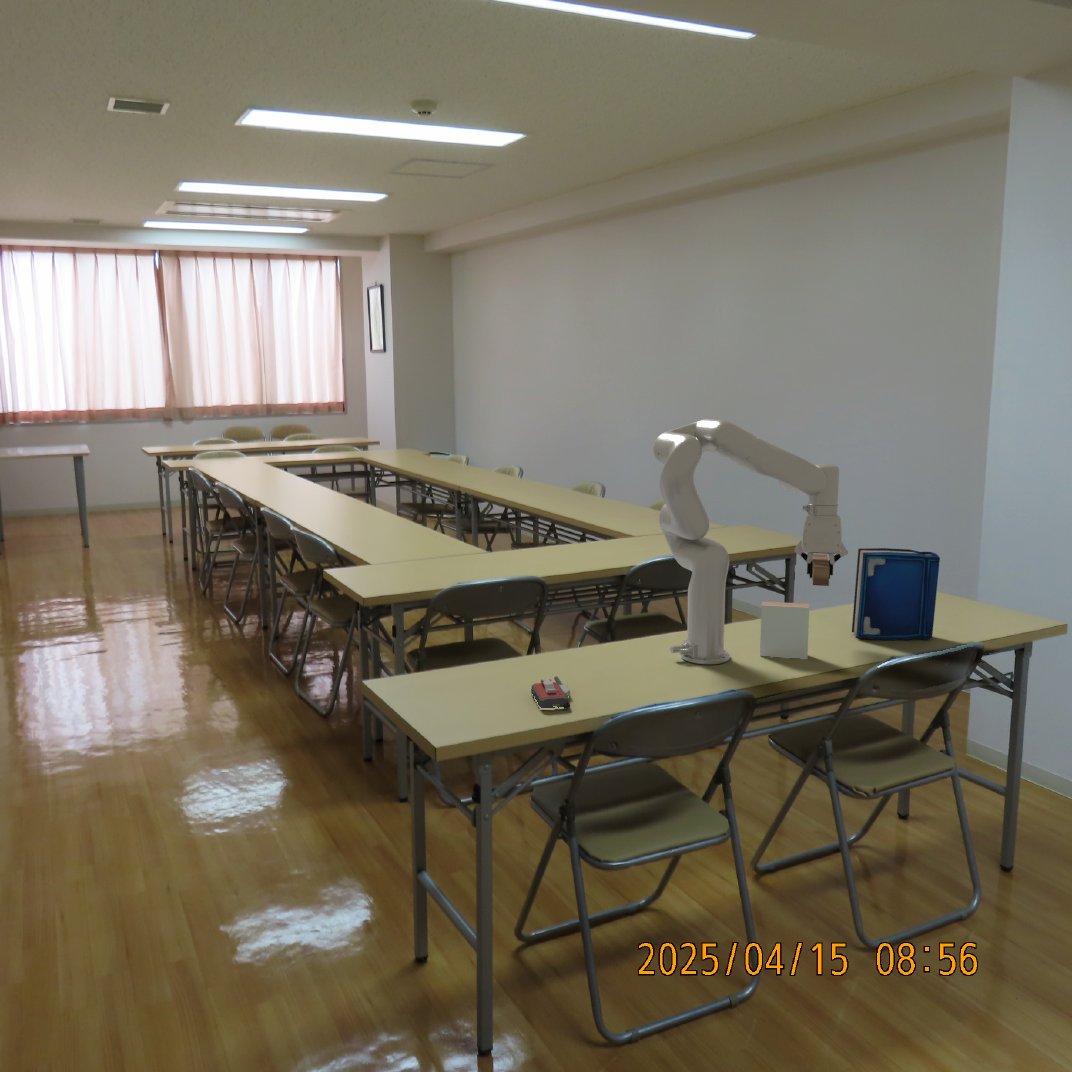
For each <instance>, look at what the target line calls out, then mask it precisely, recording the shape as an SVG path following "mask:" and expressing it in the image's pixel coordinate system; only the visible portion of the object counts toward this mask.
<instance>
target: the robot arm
mask: <svg viewBox="0 0 1072 1072" xmlns="http://www.w3.org/2000/svg"><path fill="white" fill-rule="evenodd" d="M652 450H653V456H654V458H655V459H657V461H658V462H660V463H661V464H664V465H663V467H662V470H661V473H660V477H659V478H660V479H659V488H660V493H661V496H662V499H663V501H664V504H662V507H661V508H660V510H659V511H660V512H659V514H658V515H659V516H658V517H659V519H658V520H659V526H660V529H661V531H662V534H663V536H664V538H665V540H666V542H667V544H668V547H669V549H670V551H671V553H672V556H673V557H674V560H676V562H677V563H678V565H680V566H681V567H682V568H684V569H685V570H688V571H690V572H692V573H691V576H690V581H689V582H688V583H689V584H688V589H687V631H686V632H687V636H686V639H685V640H684V639H683V643H681V644H680V645H671V646H670V647H669V651H670V653H671V654H679V655H680V657H681V658H682V660H684V661H686V662H688V663H692V664H697V665H719V664H724V663H726V662H728V661H729V660H730V658H731V657H730V656H731V654H730V652H728V651H727V650H725V649H724V648H725V617H726V616H725V613H726V608H725V607H726V605H725V604H726V603H725V602H726V583H727V575H728V572H729V568H730V556H729V553H728V551H727V549H726V547H725V546H723V545H722V544H721V543H720V542H718V541H716V540H713V539H710V538H707V537H705V536H706V535H707V534H708V532H709V529H710V520H709V517H708V514H707V511H706V508H705V506H704V505H703V503H702V500H701V498H700V496H699V494H698V491H697V488H696V485H695V482H694V476H695V471H696V469H697V466H698V465H699V463H700V462H701V459H702V455H703V453H704V452H712V453H715V454H717V455H718V456H721V457H723V458H725V459H726V460H729V461H730V462H733V463H734V464H736V465H738V466H739V467H742V468H744V470H747V471H749V472H752V473H755V474H756V475H760V476H764V477H766V478H767V477H768V478H772V479H775V480H777V481H778V484H779V485H780V487H781V488H782V489H783V490H785V491H787V492H790V493H795V494H799V495H805V496H807V497H808V499H807V500H808V501H807V502H808V503H807V504H806V505H802V511H803V512H806V513H807V514H805V516H804V519H803V523H802V524H803V525H802V532H801V539H800V541H799V543H798V544H797V545H796V546H795V548H794V551H793V552H794V553H796V554H797V555H798V556H800V557H801V558H802V559H803V560H804V561H805V562H806V563H807V565H806V575H808V576H809V579H812V570H813V562H812V556H813V554H827V555H828V562H829V566H830V571H829V580H830V579H831V576H834V564H835V563H837V561H838V560H840V559H841V558H843V557H844V556H846V555H848V554H849V551H848V549H847V548H846V546H845V545H844V543H843V542H842V522H841V521H842V520H841V516H840V515H838V505H839V485H840V484H839V482H840V469H839V467H838V466H837V465H836V464H829V463H816V464H813V463H811V462H810V461H808V460H806V459H804V458H802V457H801V456H798V455H795V454H793V453H791V452H790V451H787V450H784V449H782V448H780V447H778V446H776V445H774V444H772V443H770V442H767V441H765V440H764V439H762V438H760V437H758V436H756V435H754V434H753V433H751V432H749V431H747V430H746V429H744V428H742V427H740V426H739V425H737V424H735V423H733V422H730V421H729V420H724V419H717V418H716V419H715V418H705V419H700V420H697V421H695V422H691V423H688V424H686V425H682V426H680V427H677V428H673V429H670V430H667V431H665V432H662V433H661V434H659V435H658V437H657V438H656V439H655V440H654V443H653V448H652Z"/></svg>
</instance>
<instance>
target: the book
mask: <svg viewBox="0 0 1072 1072" xmlns="http://www.w3.org/2000/svg"><path fill="white" fill-rule="evenodd" d="M940 559H941V557H940V556H939V554H937V553H936V552H932V551H917V550H912V549H909V548H908V549H907V548H906V549H903V548H888V547H878V548H877V547H874V548H867V547H866V548H858V550H857V564H856V575H855V586H854V598H853V599H854V600H853V613H852V622H851V623H852V624H851V625H852V626H851V633H853V636H856V637H855V638H856V639H866V640H867V639H869V640H878V641H879V640H880V641H911V640H915V639H916V640H917V639H918V640H931V639H933V635H934V634H933V633H934V632H933V631H934V630H933V629H934V621H935V612H936V604H937V603H936V601H937V592H938V581H939V580H938V579H939V571H940V561H941V560H940Z"/></svg>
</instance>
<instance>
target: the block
mask: <svg viewBox="0 0 1072 1072" xmlns="http://www.w3.org/2000/svg"><path fill="white" fill-rule="evenodd" d="M828 561H829V556H828V554H823V553H813V556H812V562H813V570H812V578H811V581H812V582H811V583H812V586H823V587H829V586H830V579H829V571H830V566H829V562H828Z"/></svg>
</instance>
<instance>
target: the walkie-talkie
mask: <svg viewBox="0 0 1072 1072" xmlns="http://www.w3.org/2000/svg"><path fill="white" fill-rule="evenodd" d="M530 693H531V695H532V694H533V697H534V696H535V699H536V700H537V702H538V705H539V706H540V707H541V708H555V707H553V706H557V707H558V708H559V707H564V708H567V709H569V708H570V707H571V703H570V702H569V699H568V696H570V697H571V689H570V688H569V686H568V684H563V682H562V681H561V680H560V678H559V677H558V676H554V681H553V680H552V679H551V678H548V679H547V678H546V679H540V682H537V683H533V684H532V685H531V688H530ZM533 697H532V698H533ZM538 705H537V706H538Z"/></svg>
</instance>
